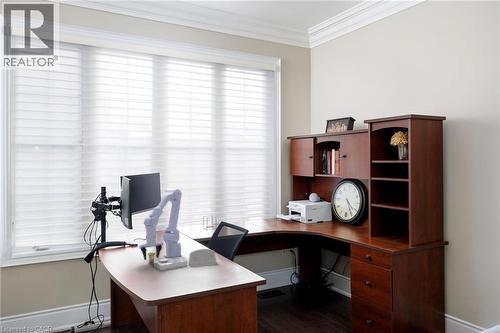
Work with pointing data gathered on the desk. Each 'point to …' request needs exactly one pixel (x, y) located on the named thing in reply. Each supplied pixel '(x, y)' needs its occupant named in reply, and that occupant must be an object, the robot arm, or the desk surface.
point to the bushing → (151, 257)
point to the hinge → (202, 258)
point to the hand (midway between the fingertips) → (151, 258)
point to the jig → (170, 263)
